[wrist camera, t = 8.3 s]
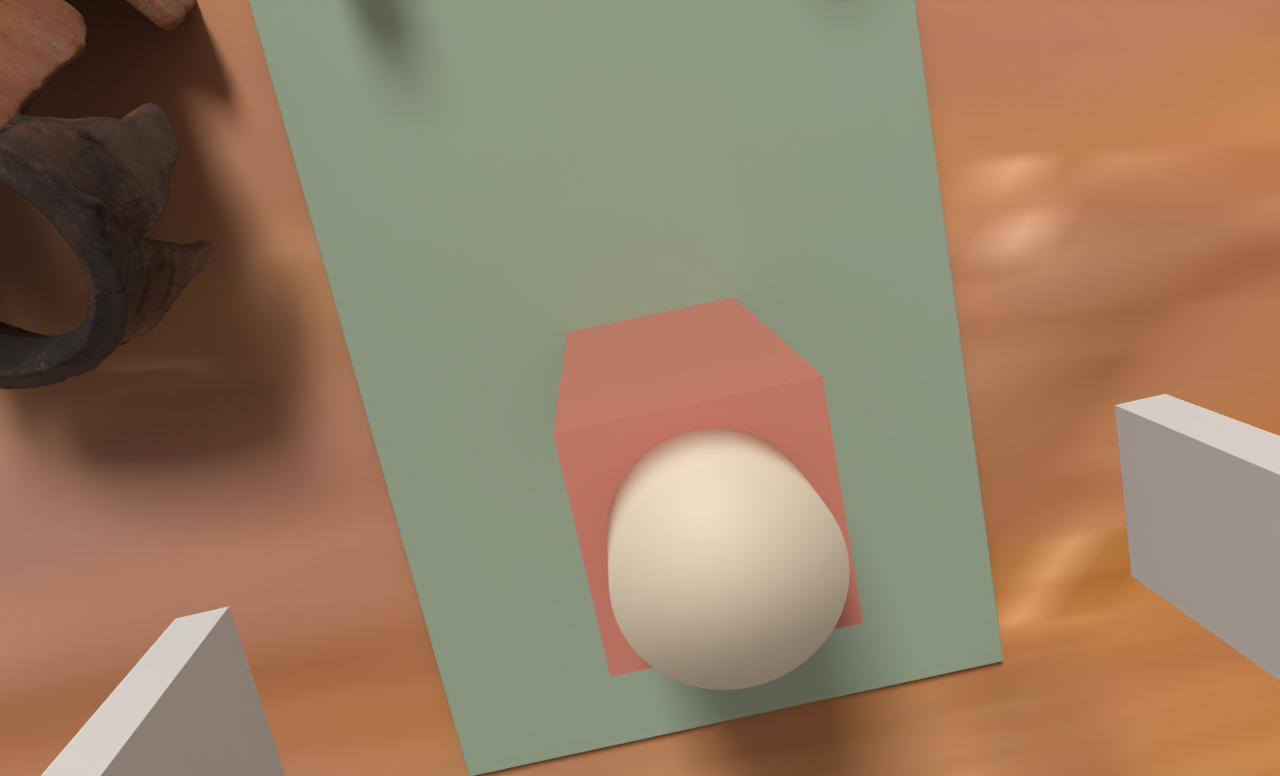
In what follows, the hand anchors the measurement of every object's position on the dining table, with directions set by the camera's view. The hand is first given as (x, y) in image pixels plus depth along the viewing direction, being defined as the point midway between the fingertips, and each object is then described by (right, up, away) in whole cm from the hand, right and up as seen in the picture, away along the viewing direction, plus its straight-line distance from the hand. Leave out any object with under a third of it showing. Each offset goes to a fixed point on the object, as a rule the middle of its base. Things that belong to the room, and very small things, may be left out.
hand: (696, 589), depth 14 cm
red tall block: (0, +3, +12) cm, 12 cm away
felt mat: (-1, +9, +11) cm, 14 cm away
